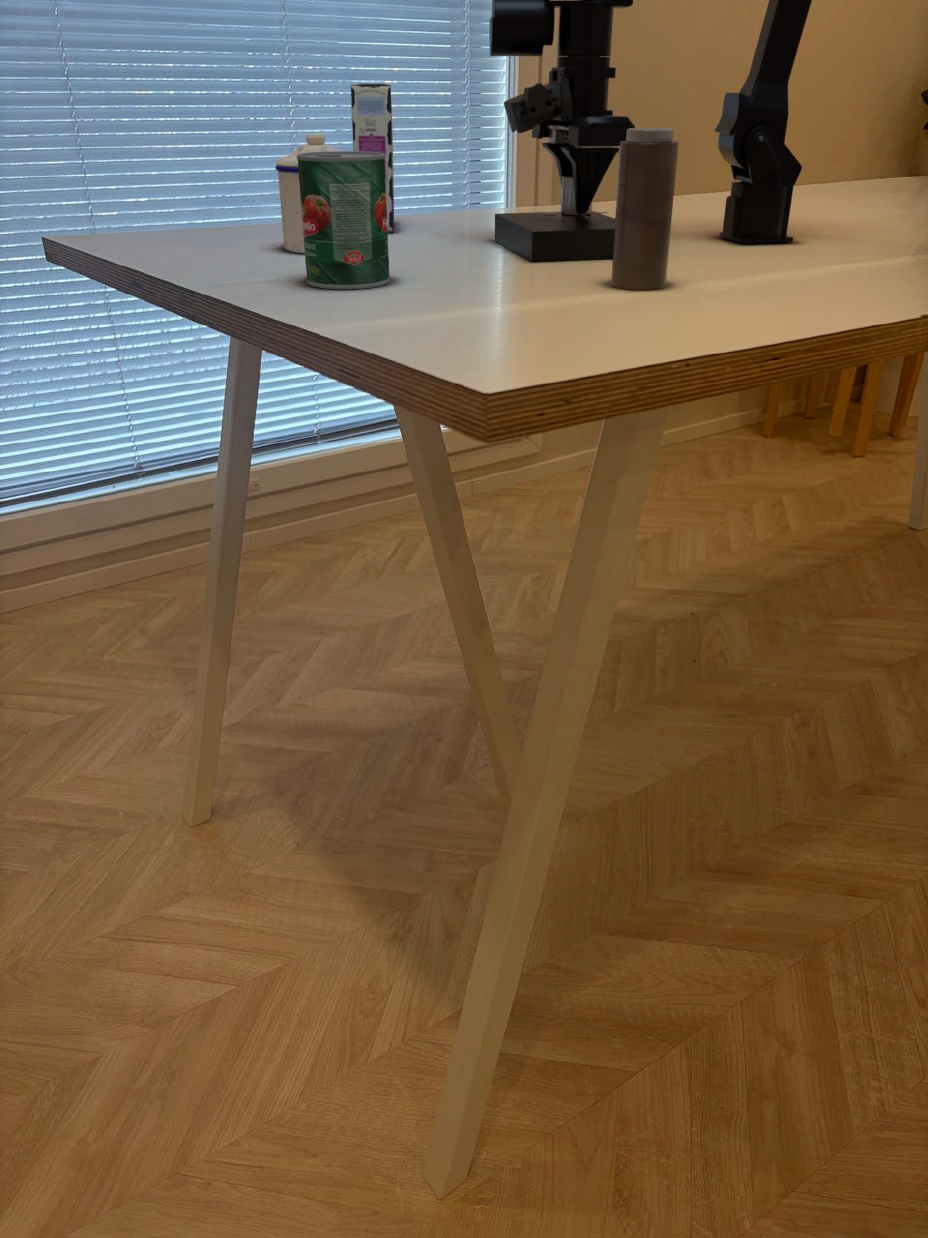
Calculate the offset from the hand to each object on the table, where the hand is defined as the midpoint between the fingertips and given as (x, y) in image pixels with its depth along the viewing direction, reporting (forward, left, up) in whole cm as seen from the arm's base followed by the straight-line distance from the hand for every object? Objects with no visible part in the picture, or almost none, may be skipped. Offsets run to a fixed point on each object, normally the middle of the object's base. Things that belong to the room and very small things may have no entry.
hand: (575, 211), depth 115 cm
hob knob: (0, 0, 0) cm, 0 cm away
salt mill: (+3, +28, -3) cm, 28 cm away
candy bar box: (+21, -18, -4) cm, 28 cm away
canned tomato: (+29, +20, -4) cm, 35 cm away
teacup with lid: (+29, -3, -4) cm, 29 cm away
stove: (+3, +5, -3) cm, 7 cm away
